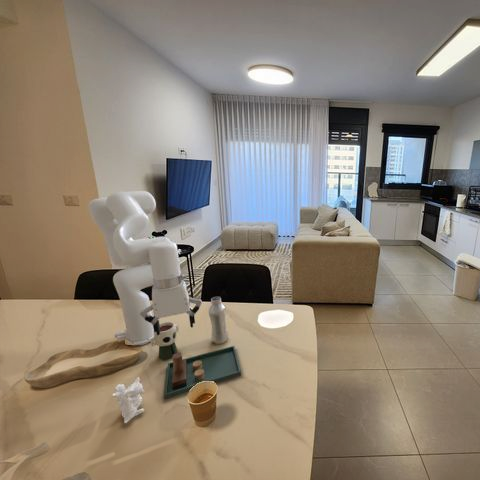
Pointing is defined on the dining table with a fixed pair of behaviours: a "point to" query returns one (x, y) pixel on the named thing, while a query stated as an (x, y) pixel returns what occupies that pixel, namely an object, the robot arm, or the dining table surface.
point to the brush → (179, 372)
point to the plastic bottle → (218, 321)
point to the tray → (206, 369)
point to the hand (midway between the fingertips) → (175, 329)
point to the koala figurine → (129, 399)
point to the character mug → (166, 340)
